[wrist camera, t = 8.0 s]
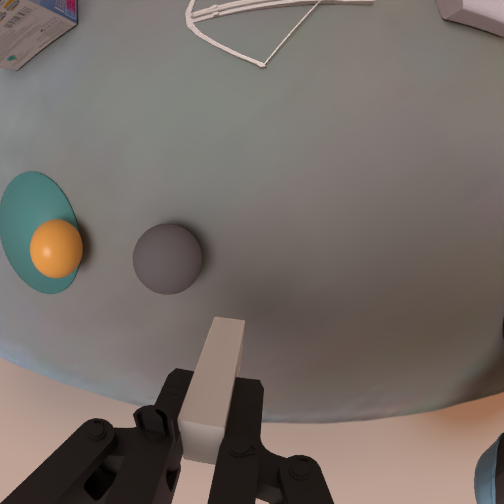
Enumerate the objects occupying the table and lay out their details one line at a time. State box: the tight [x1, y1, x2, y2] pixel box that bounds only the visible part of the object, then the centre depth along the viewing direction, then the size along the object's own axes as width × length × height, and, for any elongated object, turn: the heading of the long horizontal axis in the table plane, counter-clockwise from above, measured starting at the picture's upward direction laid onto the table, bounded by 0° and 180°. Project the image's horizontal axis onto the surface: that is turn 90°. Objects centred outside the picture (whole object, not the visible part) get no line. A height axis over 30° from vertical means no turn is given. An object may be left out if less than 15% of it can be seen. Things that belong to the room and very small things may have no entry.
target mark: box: [0, 172, 79, 294], centre depth 26 cm, size 14×14×1 cm
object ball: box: [30, 219, 83, 278], centre depth 23 cm, size 6×6×6 cm
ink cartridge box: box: [0, 0, 77, 70], centre depth 11 cm, size 10×6×14 cm, turn 106°
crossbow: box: [185, 0, 374, 68], centre depth 17 cm, size 16×13×2 cm
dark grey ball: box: [133, 224, 202, 294], centre depth 22 cm, size 6×6×6 cm
